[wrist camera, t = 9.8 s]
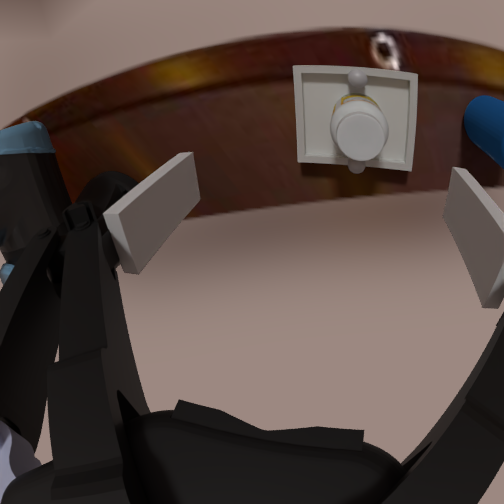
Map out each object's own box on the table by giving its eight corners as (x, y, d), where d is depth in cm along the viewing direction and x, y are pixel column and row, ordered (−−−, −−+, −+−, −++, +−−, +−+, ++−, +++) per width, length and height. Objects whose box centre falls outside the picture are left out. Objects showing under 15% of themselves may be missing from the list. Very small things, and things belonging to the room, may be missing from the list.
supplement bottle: (355, 82, 27) (360, 91, 20) (391, 118, 28) (407, 140, 21) (322, 115, 31) (314, 136, 23) (357, 148, 32) (360, 181, 24)
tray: (300, 156, 35) (293, 171, 31) (295, 65, 29) (288, 66, 25) (408, 164, 32) (416, 181, 28) (413, 73, 26) (424, 76, 22)
